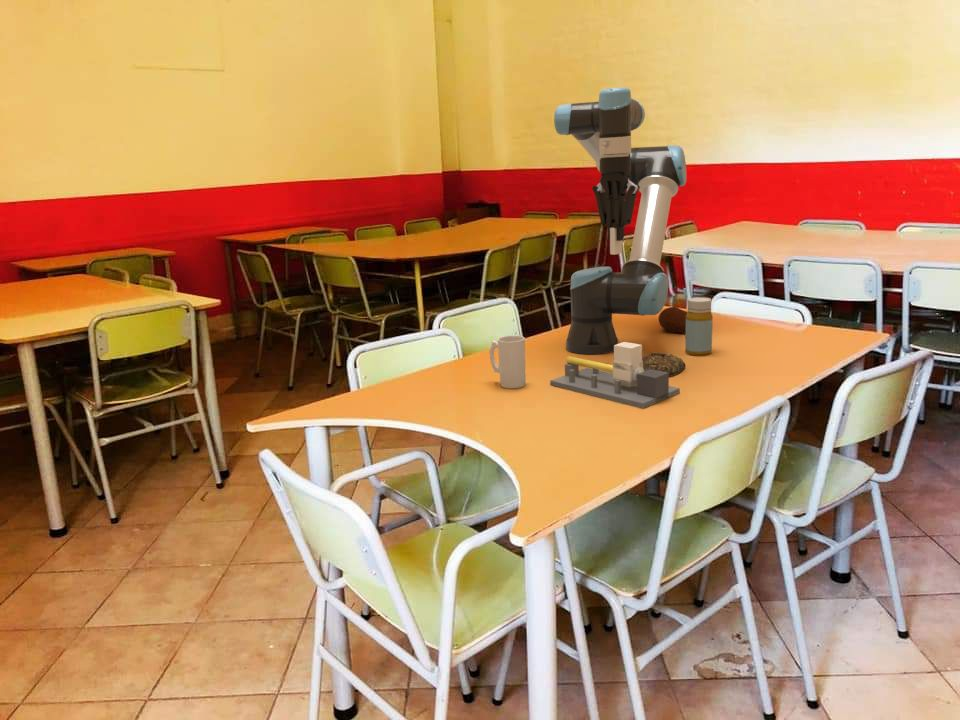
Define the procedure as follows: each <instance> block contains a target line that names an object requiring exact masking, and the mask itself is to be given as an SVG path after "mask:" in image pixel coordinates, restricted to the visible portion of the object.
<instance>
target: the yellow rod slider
mask: <svg viewBox="0 0 960 720" xmlns="http://www.w3.org/2000/svg"><path fill="white" fill-rule="evenodd" d="M565 360H566V361H565V362H566V363H565V364H564V375H562V376H559V377H557V378H553V379H551V380H550V381H549V382H550V383H549V384H550V386H552V387H556V388H560V389H564V390H569V391H573V392H575V393H580V394H583V395H588V396H592V397H595V398H600V399H603V400H608V401H612V402H617V403H620V404H624V405H628V406H632V407H637V408H640V409H643V410H644V409H645V408H647V407H650V406H652V405H655V404H658V403H660V402H662V401H664V400H667V399H670V398H671V397H674V396H676V395H679V394H680V393H681V392H680V391H681V389H680V387H675V386H671V385H669V382H670V379H669V373H667V372H662V371H657V370H652V369H649V370H647V371H644V369H643V368H641V367H636V368H635V369H634V370H633V373H632V378H633V380H634V381H636V382H637V385H635V386H633V387H627V386H622V385H621V380H615V384H614V383H613V364H608V363H603V362H599V361H594V360H590V359H585V358H580V357H575V356H570V355H568V356H567V357H566V359H565ZM580 367H584V368H582V369H579V368H580Z"/></svg>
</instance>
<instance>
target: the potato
mask: <svg viewBox="0 0 960 720" xmlns="http://www.w3.org/2000/svg"><path fill="white" fill-rule="evenodd" d="M687 312H688V311H685V310H683V309H681V308H679V307H677V306H670V307H667V308H664V309H662V310H661V311H660V312H659V315H658V323H659V325H660V327H661V328H662V329H664V330H666V331H669V332H672V333H676V332H678V333H677V334H686V315H687Z"/></svg>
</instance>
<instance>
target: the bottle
mask: <svg viewBox="0 0 960 720" xmlns="http://www.w3.org/2000/svg"><path fill="white" fill-rule="evenodd" d="M686 312H687V315H686V333H685V336H684V337H685V341H684V344H685V347H684V349H685V353H687V355H690V356H695V355H700V356H699V357H701V356H708V355H710V354H711V353H712V351H713V349H712V348H713V321H714V320H713V319H714V318H713V316H714V315H713V314H712V299H711V298H710V297H690V298H687V311H686Z"/></svg>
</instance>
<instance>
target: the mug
mask: <svg viewBox="0 0 960 720" xmlns="http://www.w3.org/2000/svg"><path fill="white" fill-rule="evenodd" d="M525 342H526V338H525V337H524V336H522V335H505V336H500V337H498V338H497V339H496V340H492V341H491V345H490V349H489V360H490V363H491V366H492V369H493V372H494V373H499V381H500V386H501V387H502V388H503V389H510V390H511V389H512V390H513V389H520V388H523V387H525V386H526V383H527V382H526V379H527V378H526V343H525ZM496 348H497V354H498V355H497V356H498V364H497V362H496V360H495V359H496V358H495V354H494V353H495V350H496Z"/></svg>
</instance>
